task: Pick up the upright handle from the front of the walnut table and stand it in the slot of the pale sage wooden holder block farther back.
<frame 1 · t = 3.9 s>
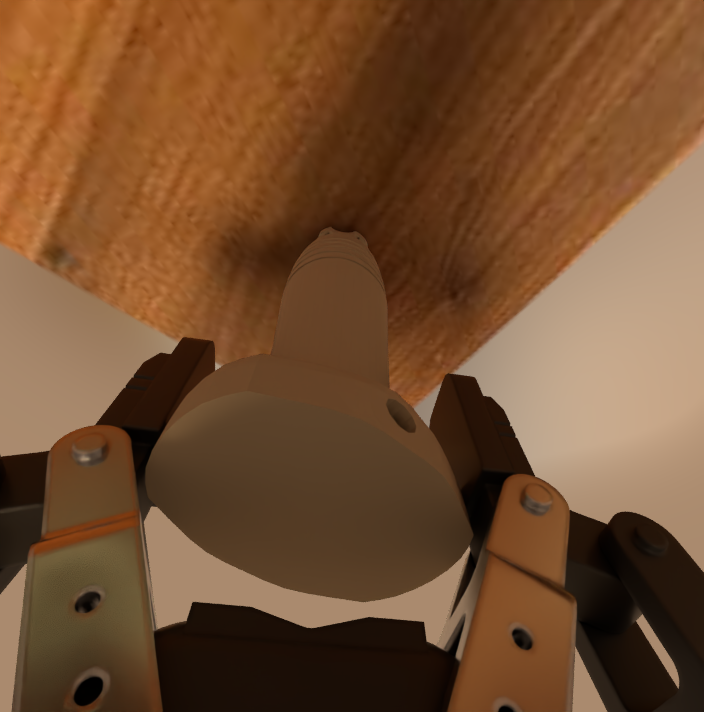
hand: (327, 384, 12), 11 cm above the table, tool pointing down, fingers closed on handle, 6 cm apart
handle: (339, 255, 21), on the table, touching gripper
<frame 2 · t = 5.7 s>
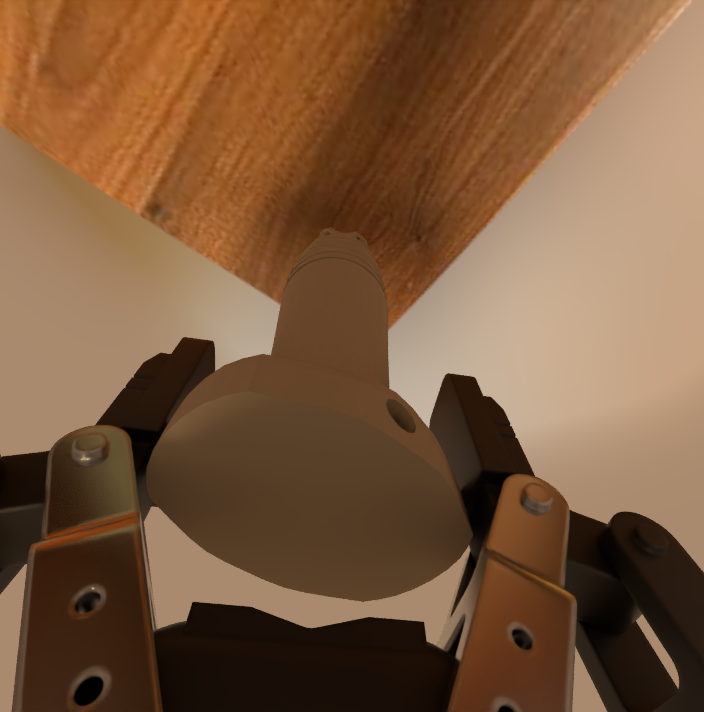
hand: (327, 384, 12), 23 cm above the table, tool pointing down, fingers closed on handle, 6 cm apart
handle: (339, 256, 21), point 12 cm above the table, touching gripper
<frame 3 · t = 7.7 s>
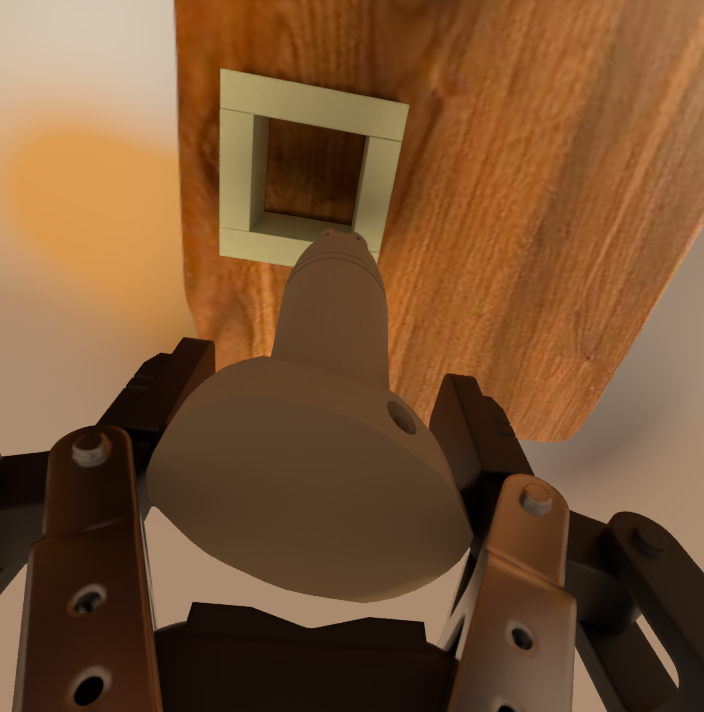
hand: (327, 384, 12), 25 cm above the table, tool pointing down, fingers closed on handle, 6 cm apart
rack: (313, 172, 32), on the table
handle: (339, 256, 21), point 14 cm above the table, touching gripper
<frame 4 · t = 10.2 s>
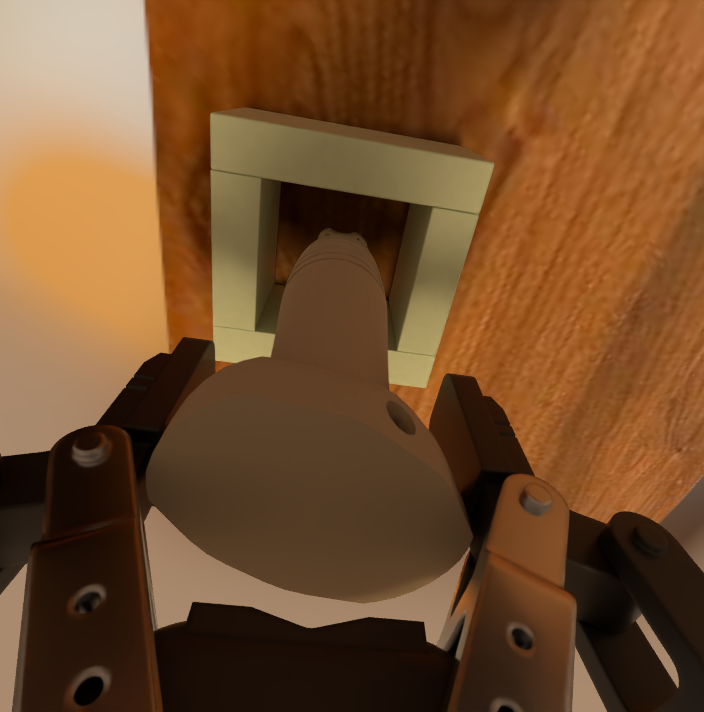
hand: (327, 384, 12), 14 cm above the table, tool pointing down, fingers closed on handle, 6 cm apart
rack: (340, 235, 24), on the table
handle: (339, 256, 21), point 4 cm above the table, touching gripper
when the fingers open (11 cm above the table, at t = 11.9 s): handle stays where it is, resting in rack.
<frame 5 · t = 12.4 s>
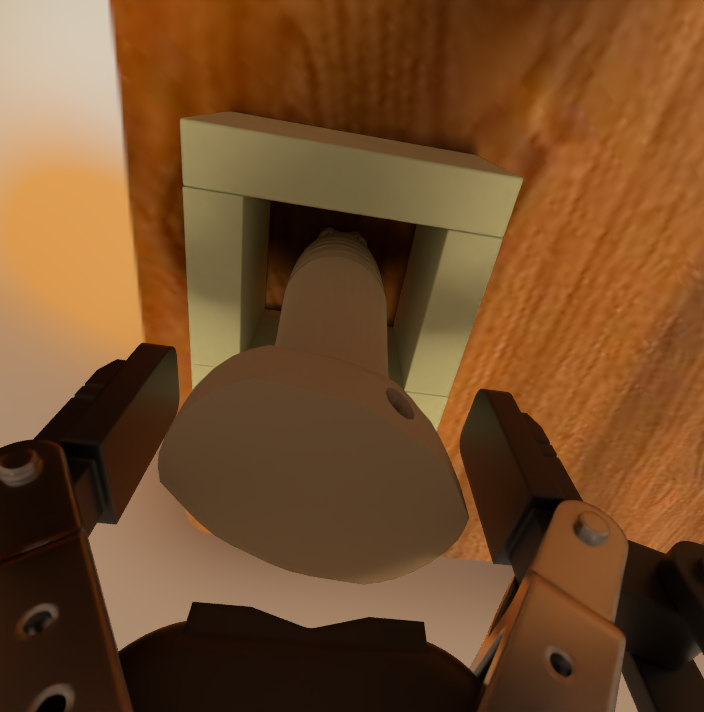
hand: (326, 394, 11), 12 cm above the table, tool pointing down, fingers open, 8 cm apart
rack: (338, 255, 21), on the table
handle: (339, 255, 21), resting in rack
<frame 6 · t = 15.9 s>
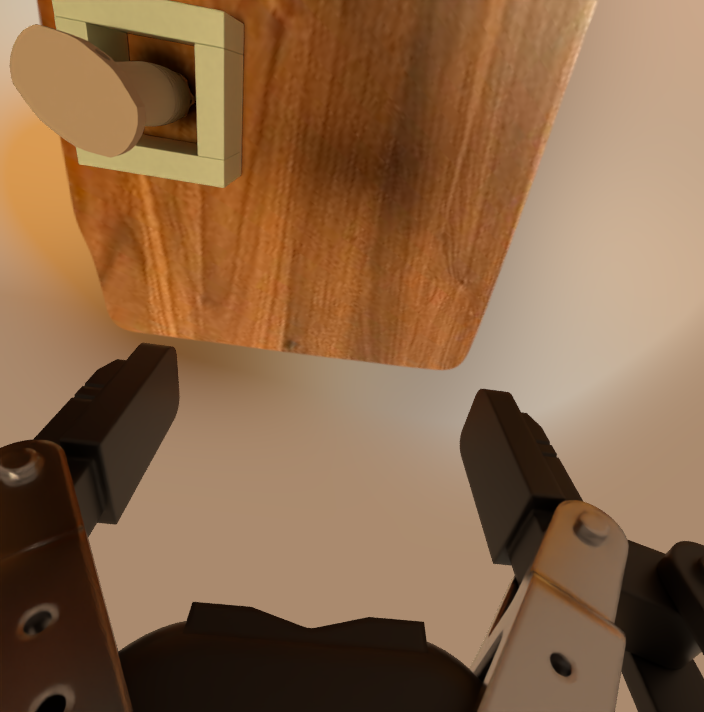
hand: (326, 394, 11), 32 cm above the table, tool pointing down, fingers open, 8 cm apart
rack: (175, 93, 35), on the table
handle: (177, 94, 35), resting in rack
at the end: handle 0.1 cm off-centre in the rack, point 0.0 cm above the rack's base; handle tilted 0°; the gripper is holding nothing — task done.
